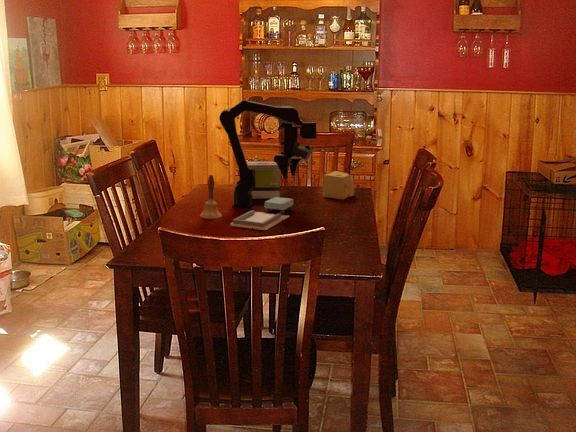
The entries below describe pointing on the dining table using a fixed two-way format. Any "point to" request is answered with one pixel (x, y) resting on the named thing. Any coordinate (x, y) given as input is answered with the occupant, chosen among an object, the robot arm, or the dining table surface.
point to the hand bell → (210, 203)
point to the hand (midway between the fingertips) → (289, 177)
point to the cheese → (338, 185)
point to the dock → (258, 220)
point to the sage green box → (278, 204)
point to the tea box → (265, 180)
